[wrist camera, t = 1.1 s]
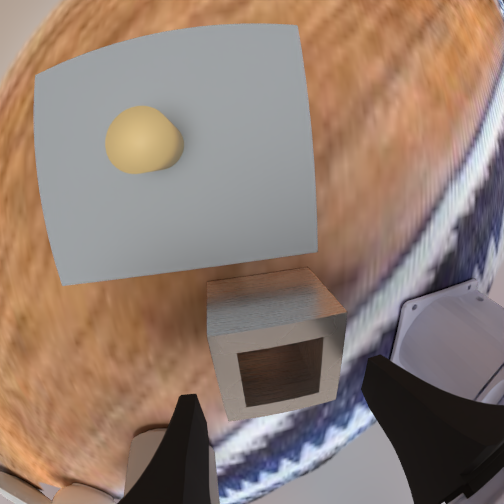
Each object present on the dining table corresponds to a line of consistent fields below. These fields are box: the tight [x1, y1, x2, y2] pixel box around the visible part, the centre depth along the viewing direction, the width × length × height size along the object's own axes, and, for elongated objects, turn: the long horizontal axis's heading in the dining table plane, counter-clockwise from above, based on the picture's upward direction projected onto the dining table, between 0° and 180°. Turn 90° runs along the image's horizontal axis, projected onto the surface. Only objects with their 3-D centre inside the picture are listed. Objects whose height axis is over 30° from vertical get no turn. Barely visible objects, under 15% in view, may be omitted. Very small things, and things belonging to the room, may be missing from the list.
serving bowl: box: [0, 471, 52, 504], centre depth 21 cm, size 21×21×7 cm
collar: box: [207, 267, 347, 421], centre depth 13 cm, size 6×6×5 cm
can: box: [124, 428, 220, 504], centre depth 13 cm, size 8×8×12 cm
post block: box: [34, 24, 318, 286], centre depth 10 cm, size 14×12×5 cm
